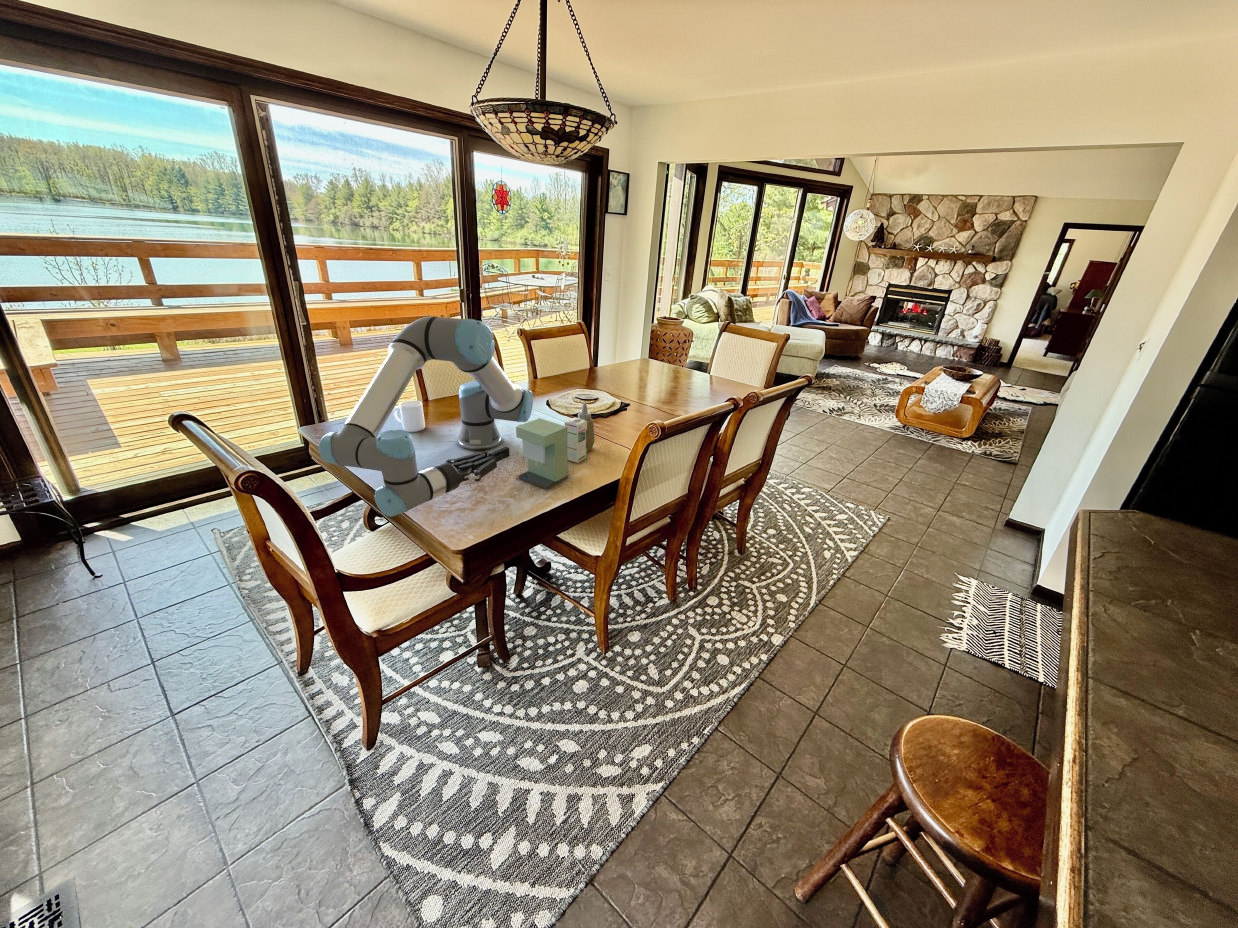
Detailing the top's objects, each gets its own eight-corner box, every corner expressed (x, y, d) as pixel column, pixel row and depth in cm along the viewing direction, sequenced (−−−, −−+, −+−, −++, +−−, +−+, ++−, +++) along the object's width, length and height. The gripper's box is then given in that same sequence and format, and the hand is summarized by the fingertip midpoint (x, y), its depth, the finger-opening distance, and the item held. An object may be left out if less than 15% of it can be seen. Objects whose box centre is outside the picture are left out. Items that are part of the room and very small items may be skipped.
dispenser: (545, 489, 150) (544, 436, 142) (518, 478, 156) (515, 426, 148) (567, 477, 158) (567, 426, 150) (540, 467, 164) (539, 418, 156)
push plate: (543, 464, 148) (543, 446, 145) (522, 456, 153) (522, 439, 150) (545, 463, 149) (545, 445, 146) (524, 455, 153) (523, 438, 151)
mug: (389, 430, 187) (385, 405, 183) (400, 423, 194) (396, 399, 190) (419, 433, 186) (415, 407, 182) (429, 425, 194) (425, 401, 189)
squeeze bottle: (591, 455, 175) (592, 408, 167) (570, 452, 176) (570, 405, 169) (596, 446, 182) (598, 401, 175) (576, 444, 184) (576, 399, 176)
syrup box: (577, 463, 168) (578, 424, 162) (564, 459, 171) (564, 420, 165) (587, 458, 173) (587, 420, 166) (574, 453, 175) (574, 416, 169)
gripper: (424, 485, 127) (493, 456, 145) (456, 501, 120) (524, 469, 138) (421, 460, 124) (491, 433, 141) (453, 474, 117) (523, 445, 135)
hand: (507, 451), depth 140 cm, fingers closed
